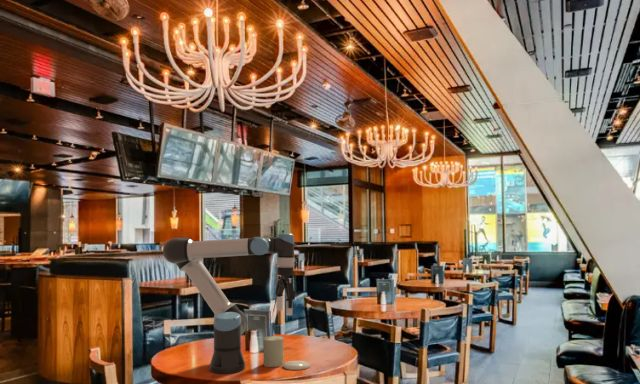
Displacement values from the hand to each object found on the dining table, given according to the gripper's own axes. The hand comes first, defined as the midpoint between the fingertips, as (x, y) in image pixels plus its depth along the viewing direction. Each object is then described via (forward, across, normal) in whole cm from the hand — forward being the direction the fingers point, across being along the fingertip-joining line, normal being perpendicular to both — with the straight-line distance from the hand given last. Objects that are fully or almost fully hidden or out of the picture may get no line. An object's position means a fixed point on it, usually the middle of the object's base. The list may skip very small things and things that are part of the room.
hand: (284, 313), depth 237 cm
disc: (+21, -12, -2) cm, 25 cm away
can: (+22, -4, +6) cm, 23 cm away
